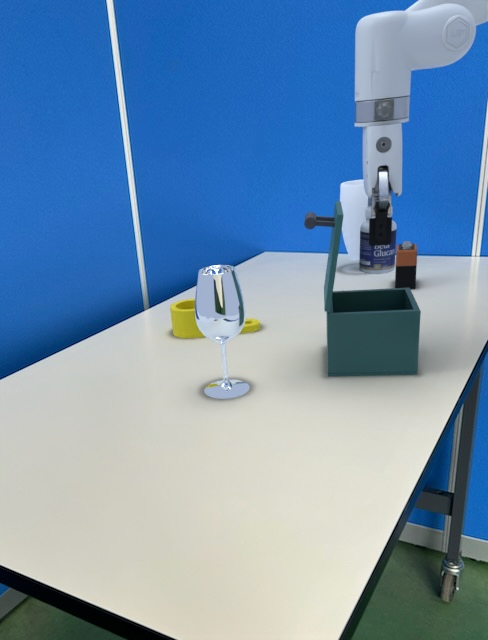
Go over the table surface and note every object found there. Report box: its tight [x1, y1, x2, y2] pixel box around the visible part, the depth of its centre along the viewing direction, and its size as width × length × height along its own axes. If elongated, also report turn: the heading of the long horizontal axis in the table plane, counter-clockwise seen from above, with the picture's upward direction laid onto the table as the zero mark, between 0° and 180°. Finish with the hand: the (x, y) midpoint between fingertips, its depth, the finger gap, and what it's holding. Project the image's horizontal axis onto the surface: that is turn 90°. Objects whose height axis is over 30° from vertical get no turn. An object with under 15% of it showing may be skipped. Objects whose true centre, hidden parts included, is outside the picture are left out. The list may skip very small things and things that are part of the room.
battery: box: [394, 240, 418, 290], centre depth 140 cm, size 4×7×10 cm, turn 163°
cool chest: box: [326, 287, 422, 378], centre depth 103 cm, size 14×13×11 cm
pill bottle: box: [358, 205, 398, 275], centre depth 97 cm, size 5×5×10 cm
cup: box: [339, 179, 368, 262], centre depth 155 cm, size 10×10×22 cm
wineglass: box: [194, 264, 250, 400], centre depth 97 cm, size 8×8×20 cm
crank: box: [169, 298, 261, 339], centre depth 127 cm, size 18×8×6 cm, turn 81°
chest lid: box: [303, 200, 343, 313], centre depth 99 cm, size 15×13×5 cm
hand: (378, 239), depth 97 cm, fingers closed on pill bottle, 5 cm apart
